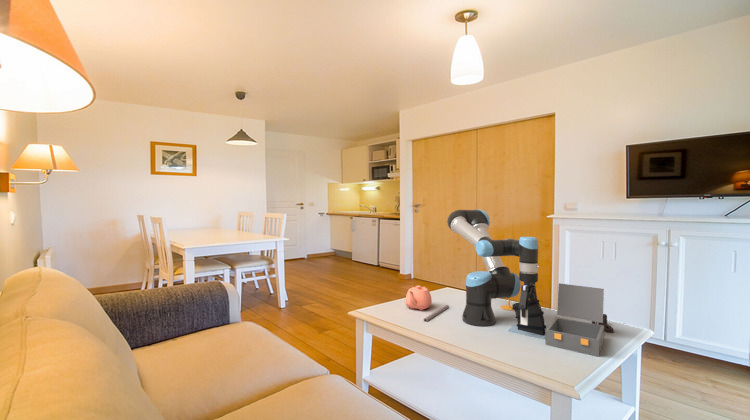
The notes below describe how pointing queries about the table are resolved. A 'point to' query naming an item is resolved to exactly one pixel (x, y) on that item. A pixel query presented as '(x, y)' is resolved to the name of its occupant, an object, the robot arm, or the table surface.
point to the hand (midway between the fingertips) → (528, 320)
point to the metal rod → (436, 313)
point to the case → (575, 336)
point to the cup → (507, 306)
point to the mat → (515, 330)
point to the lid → (580, 302)
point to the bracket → (605, 325)
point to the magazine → (531, 317)
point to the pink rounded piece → (418, 298)
